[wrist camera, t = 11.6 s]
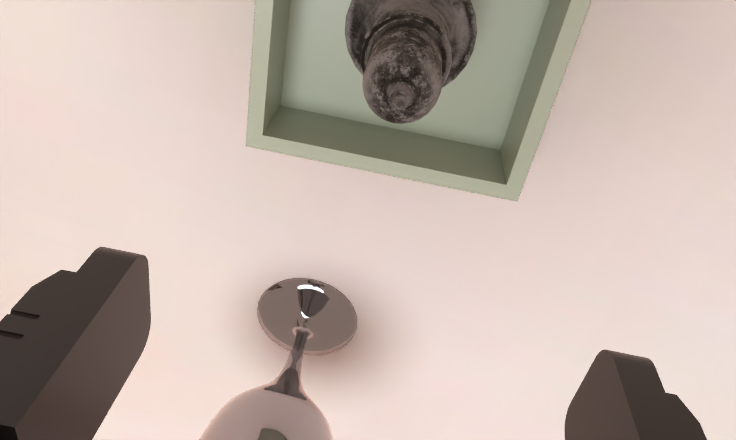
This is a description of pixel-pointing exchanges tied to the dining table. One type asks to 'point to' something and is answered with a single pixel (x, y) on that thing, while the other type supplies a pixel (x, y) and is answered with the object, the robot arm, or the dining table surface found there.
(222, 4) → the dining table surface
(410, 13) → the salt shaker
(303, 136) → the caddy
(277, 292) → the wine glass
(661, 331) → the dining table surface
